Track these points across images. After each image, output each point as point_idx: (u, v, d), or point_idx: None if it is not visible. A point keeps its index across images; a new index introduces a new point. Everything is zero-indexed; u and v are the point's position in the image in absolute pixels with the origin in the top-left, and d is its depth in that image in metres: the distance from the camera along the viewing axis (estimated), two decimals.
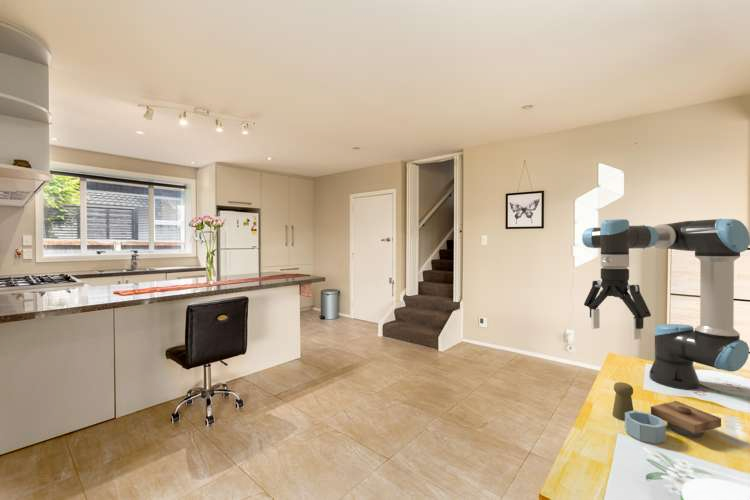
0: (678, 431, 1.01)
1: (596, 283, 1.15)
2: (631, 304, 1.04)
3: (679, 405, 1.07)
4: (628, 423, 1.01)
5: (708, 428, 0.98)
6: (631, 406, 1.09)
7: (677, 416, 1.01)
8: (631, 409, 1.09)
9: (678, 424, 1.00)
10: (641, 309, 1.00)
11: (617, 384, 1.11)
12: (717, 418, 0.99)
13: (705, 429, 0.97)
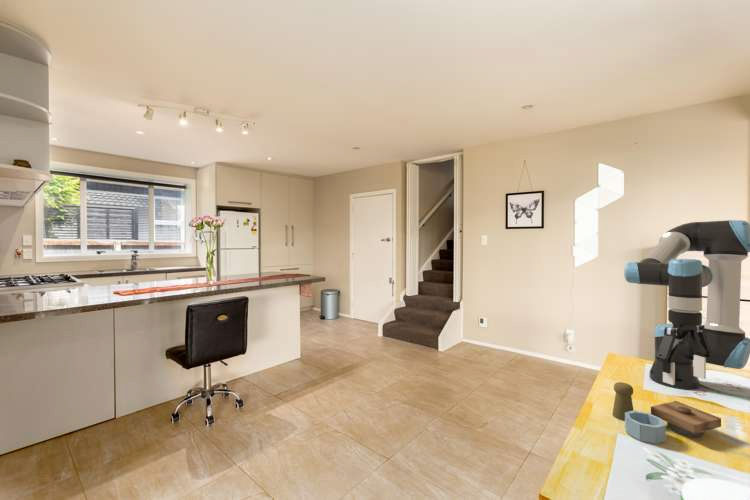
0: (678, 431, 1.01)
1: None
2: None
3: (679, 405, 1.07)
4: (628, 423, 1.01)
5: (708, 428, 0.98)
6: (631, 406, 1.09)
7: (677, 416, 1.01)
8: (631, 409, 1.09)
9: (678, 424, 1.00)
10: None
11: (617, 384, 1.11)
12: (717, 418, 0.99)
13: (705, 429, 0.97)
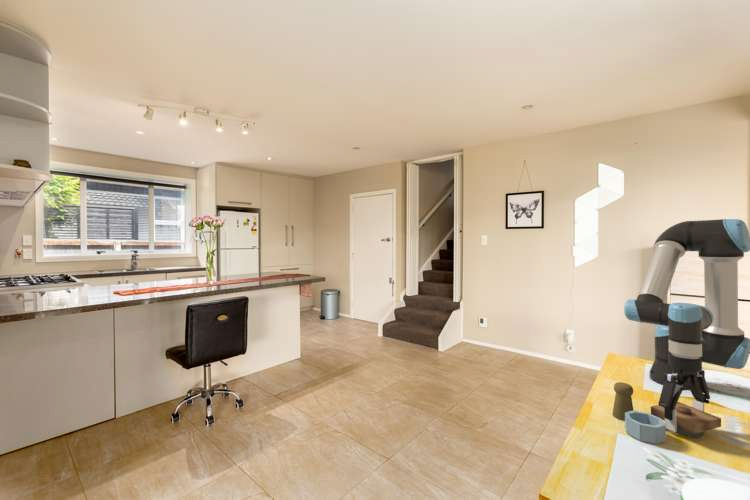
0: (678, 431, 1.01)
1: None
2: None
3: (679, 405, 1.07)
4: (628, 423, 1.01)
5: (708, 428, 0.98)
6: (631, 406, 1.09)
7: (677, 416, 1.01)
8: (631, 409, 1.09)
9: (678, 424, 1.00)
10: None
11: (617, 384, 1.11)
12: (717, 418, 0.99)
13: (705, 429, 0.97)
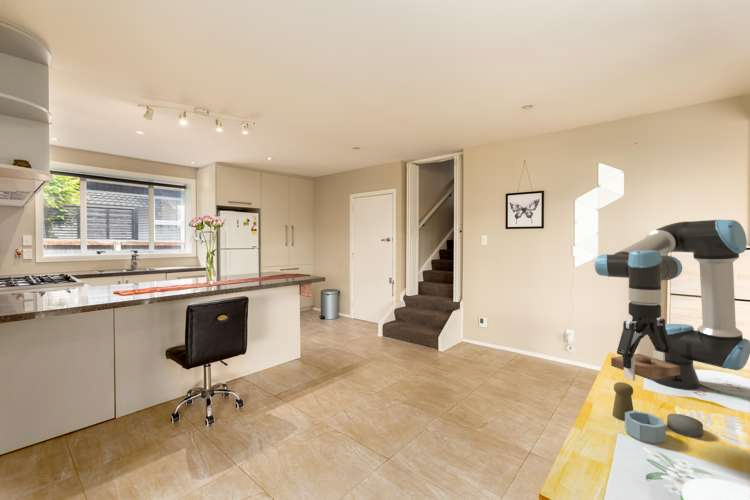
0: (678, 431, 1.01)
1: None
2: None
3: (640, 356, 1.05)
4: (628, 423, 1.01)
5: (666, 375, 0.95)
6: (631, 406, 1.09)
7: (636, 364, 0.98)
8: (631, 409, 1.09)
9: (636, 372, 0.97)
10: None
11: (617, 384, 1.11)
12: (676, 366, 0.97)
13: (663, 376, 0.95)
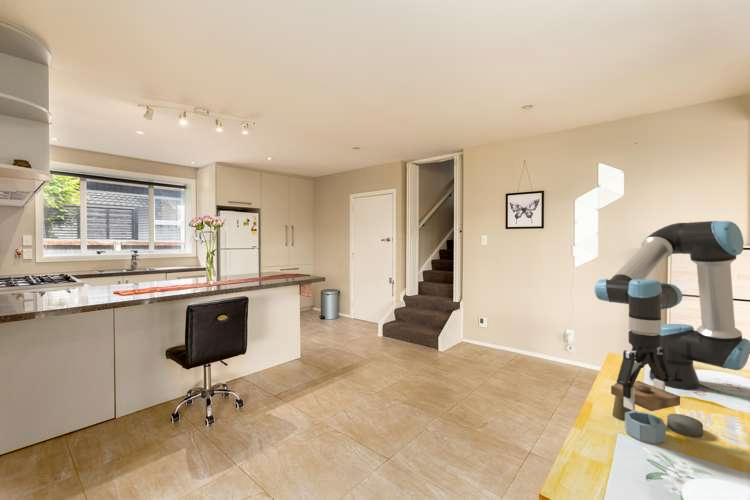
0: (678, 431, 1.01)
1: None
2: None
3: (640, 384, 1.05)
4: (628, 423, 1.01)
5: (666, 406, 0.95)
6: None
7: (636, 394, 0.98)
8: None
9: (636, 402, 0.97)
10: None
11: (617, 384, 1.11)
12: (676, 396, 0.97)
13: (663, 407, 0.95)
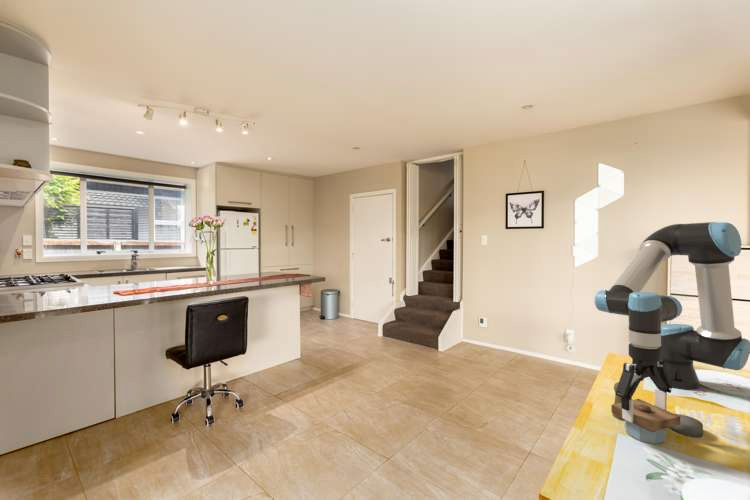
0: (678, 431, 1.01)
1: None
2: None
3: (640, 403, 1.05)
4: (628, 423, 1.01)
5: (666, 426, 0.95)
6: None
7: (636, 414, 0.98)
8: None
9: (636, 422, 0.97)
10: None
11: (617, 384, 1.11)
12: (676, 416, 0.97)
13: (663, 427, 0.95)
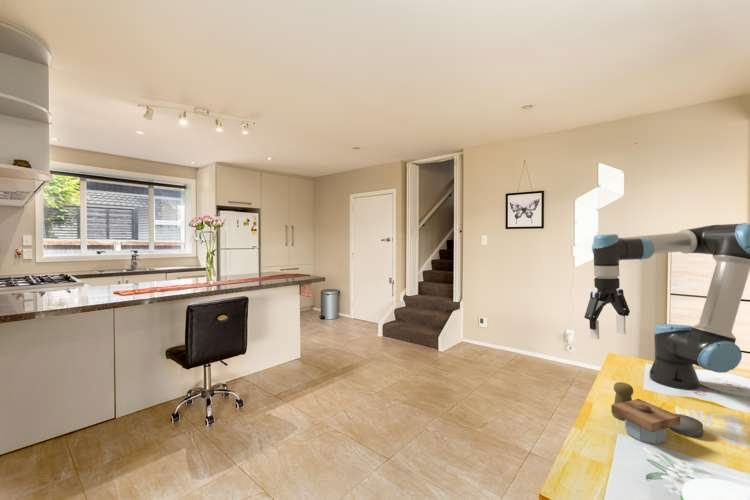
0: (678, 431, 1.01)
1: None
2: None
3: (640, 403, 1.05)
4: (628, 423, 1.01)
5: (666, 426, 0.95)
6: None
7: (636, 414, 0.98)
8: None
9: (636, 422, 0.97)
10: None
11: (617, 384, 1.11)
12: (676, 416, 0.97)
13: (663, 427, 0.95)
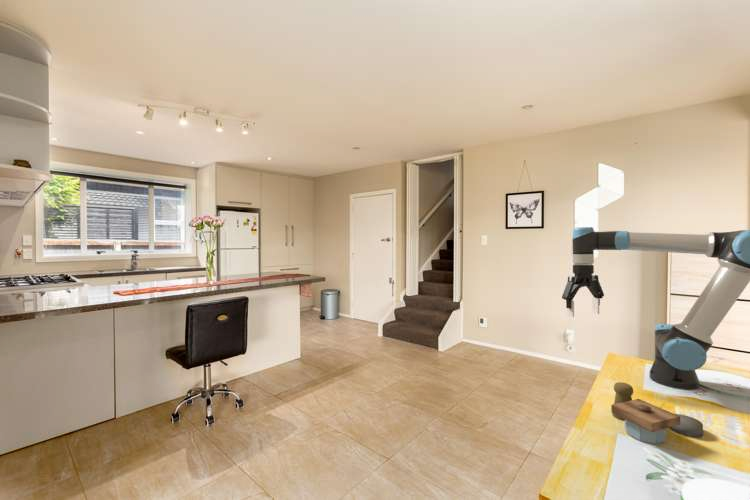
0: (678, 431, 1.01)
1: None
2: None
3: (640, 403, 1.05)
4: (628, 423, 1.01)
5: (666, 426, 0.95)
6: None
7: (636, 414, 0.98)
8: None
9: (636, 422, 0.97)
10: None
11: (617, 384, 1.11)
12: (676, 416, 0.97)
13: (663, 427, 0.95)
